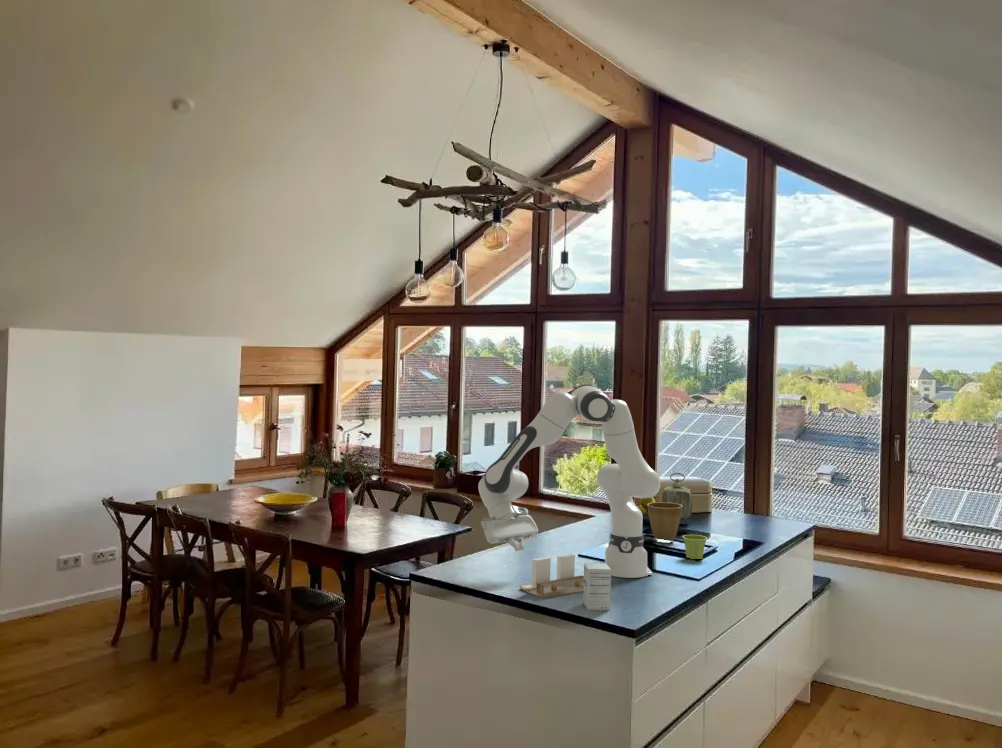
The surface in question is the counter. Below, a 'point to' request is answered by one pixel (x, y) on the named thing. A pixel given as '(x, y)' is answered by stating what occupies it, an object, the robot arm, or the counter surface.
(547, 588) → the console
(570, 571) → the block
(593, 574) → the supplement box
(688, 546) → the plant pot
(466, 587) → the counter surface
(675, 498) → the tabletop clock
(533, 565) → the white rectangular block
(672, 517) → the plant pot
